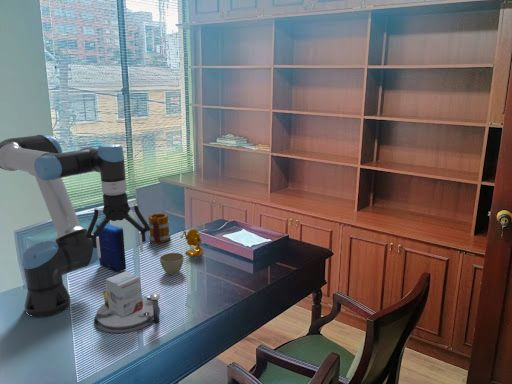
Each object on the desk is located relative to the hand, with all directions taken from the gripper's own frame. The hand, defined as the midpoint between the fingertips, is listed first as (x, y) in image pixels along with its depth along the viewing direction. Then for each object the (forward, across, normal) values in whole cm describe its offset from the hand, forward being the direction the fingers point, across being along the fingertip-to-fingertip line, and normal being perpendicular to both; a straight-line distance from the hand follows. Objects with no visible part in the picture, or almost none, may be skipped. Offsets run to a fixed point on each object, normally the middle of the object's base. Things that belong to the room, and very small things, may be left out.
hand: (120, 253), depth 148 cm
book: (+24, -4, +44) cm, 50 cm away
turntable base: (+23, 0, 0) cm, 23 cm away
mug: (+24, +19, +70) cm, 76 cm away
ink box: (+21, 0, 0) cm, 21 cm away
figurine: (+24, +33, +48) cm, 63 cm away
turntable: (+23, 0, 0) cm, 23 cm away
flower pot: (+24, +20, +30) cm, 43 cm away
